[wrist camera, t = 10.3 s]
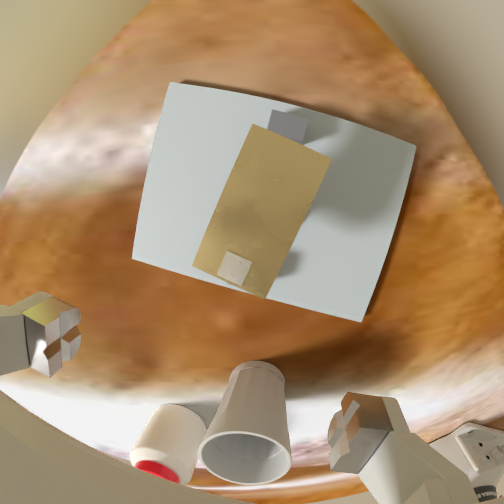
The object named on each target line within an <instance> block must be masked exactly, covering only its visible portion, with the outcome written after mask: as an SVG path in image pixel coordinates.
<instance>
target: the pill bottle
mask: <svg viewBox="0 0 504 504" xmlns="http://www.w3.org/2000/svg"><path fill="white" fill-rule="evenodd" d="M205 434H206V425H205V423H204V422H203V420H202V419H201V418H200V417H199V416H198V415H197V414H196V413H194V412H193V411H191V410H190V409H187V408H185V407H183V406H180V405H175V404H164V405H160V406H158V407H157V408H156V409H155V410H154V411H153V413H152V414H151V416H150V418H149V420H148V422H147V423H146V425H145V427H144V429H143V430H142V432H141V434H140V436H139V438H138V439H137V441H136V443H135V445H134V447H133V448H132V450H131V452H130V462H131V464H132V465H133V467H135V468H138V469H140V470H142V471H145V472H148V473H150V474H153V475H155V476H158V477H161V478H164V479H166V480H169V481H172V482H175V483H178V484H181V485H186V484H187V483H189V482H190V480H191V478H192V475H193V472H194V469H195V466H196V463H197V460H198V457H199V455H198V451H199V447H200V445H201V443H202V440H203V438H204V436H205Z"/></svg>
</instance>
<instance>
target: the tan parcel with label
mask: <svg viewBox="0 0 504 504" xmlns="http://www.w3.org/2000/svg"><path fill="white" fill-rule="evenodd" d="M331 161H332V159H331V158H329V157H327V156H325V155H323V154H321V153H318V152H316V151H314V150H312V149H310V148H308V147H306V146H304V145H301V144H299V143H297V142H295V141H293V140H290V139H288V138H286V137H284V136H281V135H279V134H277V133H274V132H272V131H270V130H267V129H265V128H263V127H260V126H258V125H255V124H252V126H251V128H250V130H249V133H248V135H247V137H246V139H245V141H244V143H243V146H242V148H241V150H240V152H239V155H238V157H237V159H236V161H235V164H234V166H233V168H232V170H231V173H230V175H229V177H228V180H227V182H226V184H225V186H224V189H223V191H222V193H221V196H220V198H219V201H218V203H217V205H216V208H215V210H214V212H213V215H212V217H211V220H210V222H209V224H208V227H207V229H206V232H205V234H204V237H203V239H202V241H201V244H200V246H199V249H198V251H197V254H196V256H195V259H194V261H193V264H192V266H193V267H195V268H197V269H199V270H202V271H204V272H206V273H208V274H210V275H212V276H214V277H217V278H219V279H221V280H223V281H225V282H227V283H229V284H232V285H234V286H236V287H238V288H240V289H243V290H245V291H247V292H249V293H251V294H254V295H256V296H258V297H260V298H262V299H266V297H267V295H268V293H269V291H270V289H271V287H272V285H273V283H274V280H275V278H276V276H277V274H278V272H279V270H280V268H281V266H282V264H283V262H284V260H285V258H286V256H287V254H288V252H289V250H290V248H291V246H292V244H293V242H294V240H295V238H296V235H297V233H298V231H299V229H300V227H301V225H302V223H303V221H304V219H305V217H306V215H307V212H308V210H309V208H310V206H311V204H312V202H313V200H314V198H315V195H316V193H317V191H318V189H319V187H320V185H321V183H322V180H323V178H324V176H325V174H326V172H327V169H328V167H329V165H330V163H331Z"/></svg>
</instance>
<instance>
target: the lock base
mask: <svg viewBox="0 0 504 504" xmlns="http://www.w3.org/2000/svg"><path fill="white" fill-rule="evenodd" d="M252 124H255V125H258V126H260V127H263V128H265V129H267V130H270V131H272V132H274V133H277V134H279V135H281V136H284V137H286V138H288V139H290V140H293V141H295V142H297V143H299V144H301V145H304V146H306V147H308V148H310V149H312V150H314V151H316V152H318V153H321V154H323V155H325V156H327V157H329V158H331V159H332V161H331V163H330V165H329V167H328V169H327V172H326V174H325V176H324V178H323V180H322V183H321V185H320V187H319V189H318V191H317V193H316V195H315V198H314V200H313V202H312V204H311V206H310V208H309V210H308V212H307V215H306V217H305V219H304V221H303V223H302V225H301V227H300V229H299V231H298V233H297V235H296V238H295V240H294V242H293V244H292V246H291V248H290V250H289V252H288V254H287V256H286V258H285V260H284V262H283V264H282V266H281V268H280V270H279V272H278V274H277V276H276V278H275V280H274V283H273V285H272V287H271V289H270V291H269V293H268V295H267V297H266V298H268V299H272V300H275V301H279V302H283V303H287V304H290V305H294V306H298V307H302V308H306V309H310V310H314V311H318V312H321V313H325V314H329V315H333V316H337V317H342V318H346V319H350V320H354V321H358V322H362V319H363V317H364V315H365V312H366V309H367V307H368V304H369V302H370V299H371V297H372V294H373V291H374V289H375V286H376V283H377V280H378V278H379V275H380V272H381V269H382V266H383V263H384V261H385V258H386V255H387V252H388V249H389V246H390V242H391V239H392V236H393V233H394V230H395V226H396V223H397V220H398V216H399V213H400V210H401V206H402V202H403V199H404V195H405V192H406V188H407V184H408V180H409V176H410V172H411V168H412V164H413V160H414V155H415V151H416V145H413V144H411V143H409V142H406V141H404V140H401V139H398V138H396V137H393V136H391V135H388V134H385V133H383V132H380V131H377V130H374V129H371V128H369V127H366V126H363V125H360V124H357V123H354V122H351V121H348V120H344V119H341V118H338V117H335V116H332V115H328V114H325V113H321V112H318V111H314V110H311V109H307V108H303V107H300V106H296V105H292V104H288V103H284V102H280V101H275V100H271V99H267V98H262V97H257V96H253V95H248V94H243V93H238V92H232V91H227V90H221V89H215V88H209V87H202V86H196V85H188V84H181V83H172V82H170V84H169V87H168V90H167V94H166V97H165V101H164V104H163V108H162V112H161V115H160V119H159V123H158V127H157V131H156V135H155V139H154V143H153V147H152V151H151V156H150V160H149V165H148V169H147V174H146V179H145V184H144V189H143V194H142V199H141V204H140V210H139V216H138V222H137V228H136V234H135V240H134V247H133V254H132V259H134V260H138V261H141V262H144V263H147V264H150V265H154V266H157V267H160V268H163V269H167V270H170V271H173V272H177V273H180V274H183V275H187V276H190V277H193V278H197V279H200V280H204V281H207V282H211V283H214V284H218V285H221V286H225V287H228V288H232V289H235V290H239V291H242V292H246V293H249V292H247V291H245V290H243V289H240V288H238V287H236V286H234V285H232V284H229V283H227V282H225V281H223V280H221V279H219V278H217V277H214V276H212V275H210V274H208V273H206V272H204V271H202V270H199V269H197V268H195V267H193V266H192V264H193V261H194V259H195V256H196V254H197V251H198V249H199V246H200V244H201V241H202V239H203V237H204V234H205V232H206V229H207V227H208V224H209V222H210V220H211V217H212V215H213V212H214V210H215V208H216V205H217V203H218V201H219V198H220V196H221V193H222V191H223V189H224V186H225V184H226V182H227V180H228V177H229V175H230V173H231V170H232V168H233V166H234V164H235V161H236V159H237V157H238V155H239V152H240V150H241V148H242V146H243V143H244V141H245V139H246V137H247V135H248V133H249V130H250V128H251V126H252ZM250 294H251V293H250ZM253 295H254V294H253Z"/></svg>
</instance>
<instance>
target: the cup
mask: <svg viewBox="0 0 504 504" xmlns="http://www.w3.org/2000/svg"><path fill="white" fill-rule="evenodd" d="M198 455H199V459H200V461H201V463H202V464H203V466H204V467H205V468H206V469H207V470H208V471H210V472H211V473H212V474H214V475H215V476H217V477H219V478H221V479H224V480H226V481H229V482H233V483H238V484H245V485H258V484H265V483H269V482H272V481H275V480H277V479H279V478H281V477H282V476H284V475H285V474H286V473H287V472H288V470H289V469H290V467H291V463H292V459H291V449H290V440H289V432H288V428H287V416H286V404H285V379H284V376H283V374H282V373H281V371H280V370H279V369H278V368H277V367H275V366H274V365H272V364H270V363H267V362H264V361H248V362H245V363H242V364H240V365H239V366H237V367H236V368H235V369H234V370H233V372H232V373H231V376H230V380H229V383H228V386H227V389H226V391H225V393H224V396H223V398H222V400H221V403H220V405H219V407H218V410H217V412H216V414H215V416H214V419H213V420H212V422H211V424H210V426H209V428H208V430H207V432H206V434H205V436H204V438H203V440H202V443H201V445H200V447H199V451H198Z"/></svg>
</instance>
